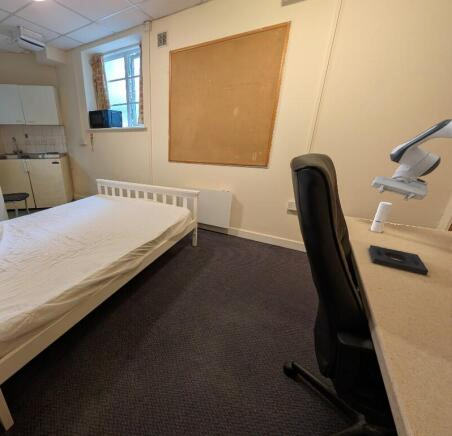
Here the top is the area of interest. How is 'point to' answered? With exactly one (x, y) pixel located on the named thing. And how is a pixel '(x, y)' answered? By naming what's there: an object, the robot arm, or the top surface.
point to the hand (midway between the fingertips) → (393, 195)
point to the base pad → (408, 260)
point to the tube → (381, 216)
